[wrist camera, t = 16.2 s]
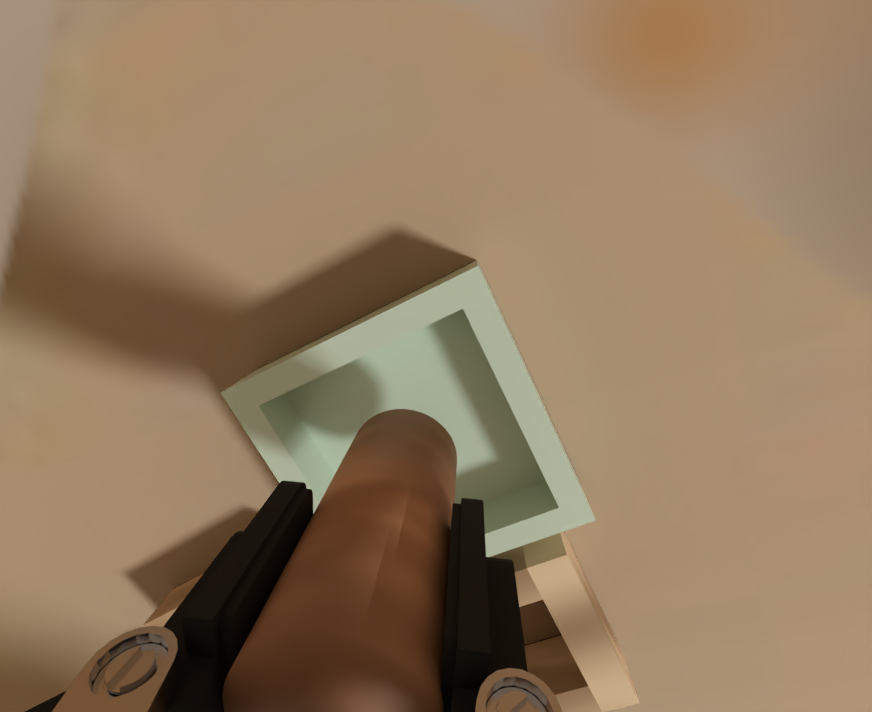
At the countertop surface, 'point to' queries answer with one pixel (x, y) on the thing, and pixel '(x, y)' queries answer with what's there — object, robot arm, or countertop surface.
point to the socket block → (570, 630)
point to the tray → (422, 406)
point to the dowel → (361, 585)
